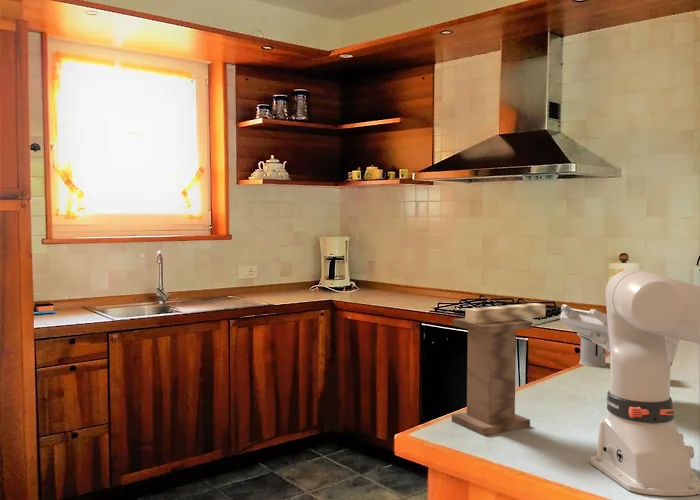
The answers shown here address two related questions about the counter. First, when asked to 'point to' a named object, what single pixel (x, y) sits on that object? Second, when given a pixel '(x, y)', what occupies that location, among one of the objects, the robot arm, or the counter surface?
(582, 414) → the counter surface
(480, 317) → the maple bar
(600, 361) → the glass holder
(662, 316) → the robot arm
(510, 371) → the walnut pedestal
